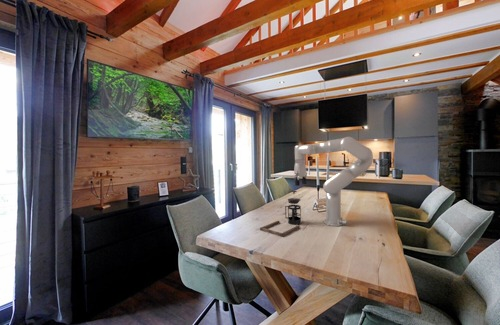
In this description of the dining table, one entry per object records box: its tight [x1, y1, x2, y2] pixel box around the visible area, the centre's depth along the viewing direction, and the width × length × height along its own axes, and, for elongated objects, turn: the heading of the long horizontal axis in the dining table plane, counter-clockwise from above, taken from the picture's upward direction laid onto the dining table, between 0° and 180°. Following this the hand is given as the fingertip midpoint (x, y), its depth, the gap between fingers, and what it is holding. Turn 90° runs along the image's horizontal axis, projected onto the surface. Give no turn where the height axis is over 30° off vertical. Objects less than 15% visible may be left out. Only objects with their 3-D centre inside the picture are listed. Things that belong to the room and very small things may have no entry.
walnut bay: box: [259, 220, 301, 238], centre depth 142 cm, size 18×20×2 cm
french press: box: [284, 190, 302, 226], centre depth 154 cm, size 12×9×23 cm
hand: (300, 184), depth 161 cm, fingers open, 9 cm apart
